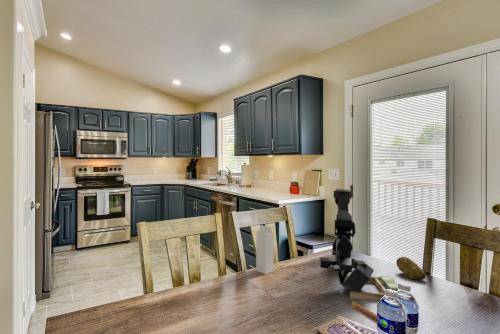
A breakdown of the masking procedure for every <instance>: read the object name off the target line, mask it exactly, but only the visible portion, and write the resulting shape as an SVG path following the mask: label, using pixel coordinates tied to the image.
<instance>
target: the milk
mask: <svg viewBox="0 0 500 334" xmlns="http://www.w3.org/2000/svg"><path fill="white" fill-rule="evenodd" d="M274 233H275V232H274V231H272V230H271V227H270V226H267V225H263V224H260V228H259V229H258V230H257V231H256V238H255V239H256V246H255V247H256V249H255V250H256V253H255V254H256V255H255V256H256V257H255V259H256V260H255V271H256V272H258V273H261V274H264V275H267V274H269V273H271V272H273V271H274V247H275V246H274V240H275V239H274V235H275V234H274Z"/></svg>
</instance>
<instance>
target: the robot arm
mask: <svg viewBox="0 0 500 334" xmlns="http://www.w3.org/2000/svg"><path fill="white" fill-rule="evenodd" d="M352 193H353V192H352V191H351V190H349V189H347V188H345V189H344V188H342V189H341V188H336V189H335V190H333V199H334V202H335V204H336V206H337V214H336V219H334V236H335V237H334V238H333V242H332V248H331V249H332V250H331V251H332V252H331V253H332V254H331V255H332V256H334V260H331V259H330V258H329V257H323V256H322V257H319V259H318V264H319V267H320V268H321V269H329V268H330V267H331V266H332V268H333V271H334V272H336V274H337V276H338V281H339V284H340V286H342V285H343V283H344V282H345V281H344V280H345V278H346V276H347V275H349V273H352V272H353V269H355V268H357V266H358V265H359V264H360V265H361V266H362V267H364V268H365V269H367V265H368V264H367V263H366V262H365V261H364V260H362V261H361V259H360V260H358V258H353V257H352V252H353V244H352V243H353V242H352V237H353V238H354V237H355V235H356V224H355V221H353V217H352V214H351V213H350V212H349V204H350V202H351V200H352V199H353V198H352V195H353V194H352ZM364 262H365V263H366V264H367V265H366V264H365V263H364Z"/></svg>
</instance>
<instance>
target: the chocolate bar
mask: <svg viewBox="0 0 500 334" xmlns="http://www.w3.org/2000/svg"><path fill="white" fill-rule="evenodd" d="M350 308H353V309H354V310H356V311H357V312H359V313H360V314H362V315H364V316H365V317H367V318H369V319H371V320H372V321H374V322H375V323H377V316H378V314H376V313H374V312H373V311H371V310H369V309H367V308H365V307H364V306H362V305H360V304H358V303H357V302H355V301H352V303H351V305H350Z"/></svg>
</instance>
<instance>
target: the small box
mask: <svg viewBox="0 0 500 334" xmlns="http://www.w3.org/2000/svg"><path fill="white" fill-rule="evenodd" d="M360 261H363V260H362V259H360ZM364 263H365V264H366V265H367V269H365V268H364V267H362V266H361V265H360V264H359V265H358V266H357V268H353V269H352V272H350V274H348V275H349V276H348V278H347V279H346V280H345V281H344V282H343V285H341V286H342V287H343V288H344V289H345V290H347V292H348V293H350V291H352V292H361V290H362V289H363V288H364V287H365V285H366V284H367V282H368V280H369V279H370V277H371V276H372V275H373V273H374V271H375V269H373V268H372V267H371V266H370V265H368V264H367V263H366V262H365V261H364Z"/></svg>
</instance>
